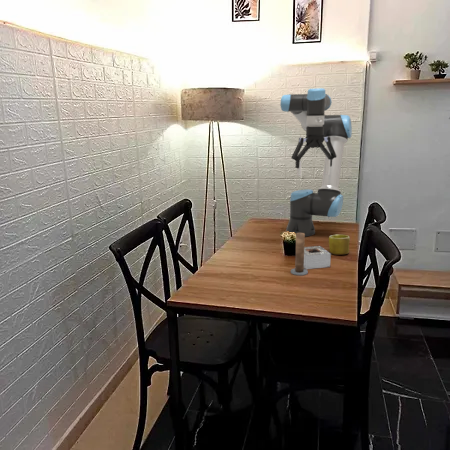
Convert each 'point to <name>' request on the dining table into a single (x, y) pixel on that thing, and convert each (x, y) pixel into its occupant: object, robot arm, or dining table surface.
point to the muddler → (299, 252)
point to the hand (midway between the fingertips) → (313, 174)
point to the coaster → (298, 272)
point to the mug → (339, 244)
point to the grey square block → (316, 257)
